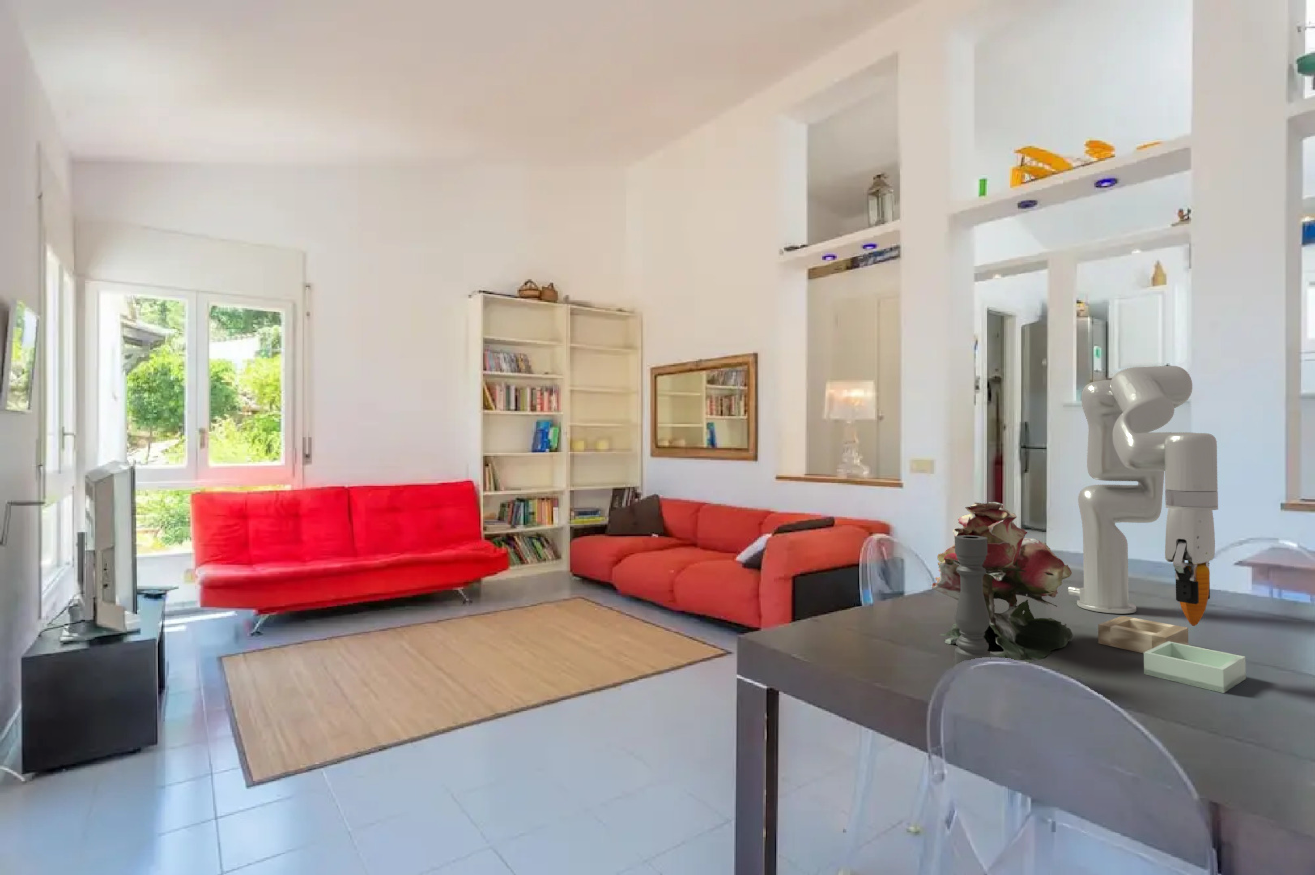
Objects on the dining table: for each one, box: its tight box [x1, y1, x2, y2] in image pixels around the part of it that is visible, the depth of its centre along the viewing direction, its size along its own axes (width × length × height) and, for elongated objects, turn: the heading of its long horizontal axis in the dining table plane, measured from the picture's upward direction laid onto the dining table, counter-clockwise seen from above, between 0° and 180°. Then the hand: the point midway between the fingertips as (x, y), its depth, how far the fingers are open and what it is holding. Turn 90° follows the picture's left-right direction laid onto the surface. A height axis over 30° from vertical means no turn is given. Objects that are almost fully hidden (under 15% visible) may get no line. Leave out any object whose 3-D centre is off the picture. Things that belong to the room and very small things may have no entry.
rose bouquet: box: [931, 501, 1074, 663], centre depth 147 cm, size 26×29×30 cm
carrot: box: [1179, 552, 1211, 627], centre depth 122 cm, size 5×5×15 cm
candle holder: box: [954, 535, 991, 666], centre depth 127 cm, size 6×6×25 cm
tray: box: [1143, 641, 1247, 694], centre depth 122 cm, size 12×12×4 cm
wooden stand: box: [1097, 615, 1189, 654], centre depth 140 cm, size 12×12×4 cm
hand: (1193, 599), depth 122 cm, fingers closed on carrot, 4 cm apart
